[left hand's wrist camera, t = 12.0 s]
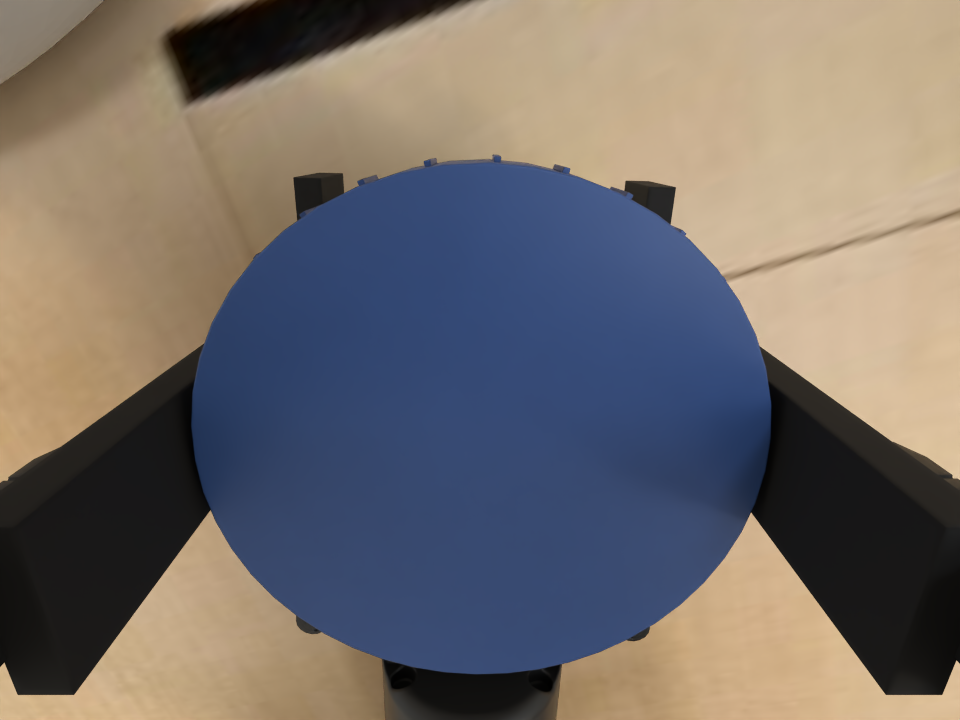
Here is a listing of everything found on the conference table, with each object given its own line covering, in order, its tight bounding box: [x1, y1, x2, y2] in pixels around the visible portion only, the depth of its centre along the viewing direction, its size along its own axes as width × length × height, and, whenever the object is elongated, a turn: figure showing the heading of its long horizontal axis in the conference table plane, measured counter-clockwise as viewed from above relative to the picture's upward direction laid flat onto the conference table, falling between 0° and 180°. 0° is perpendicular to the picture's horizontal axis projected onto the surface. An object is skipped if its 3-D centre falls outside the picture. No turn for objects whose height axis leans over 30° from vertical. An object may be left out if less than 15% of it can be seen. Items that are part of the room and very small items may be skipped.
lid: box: [191, 155, 771, 674], centre depth 11 cm, size 11×11×2 cm
